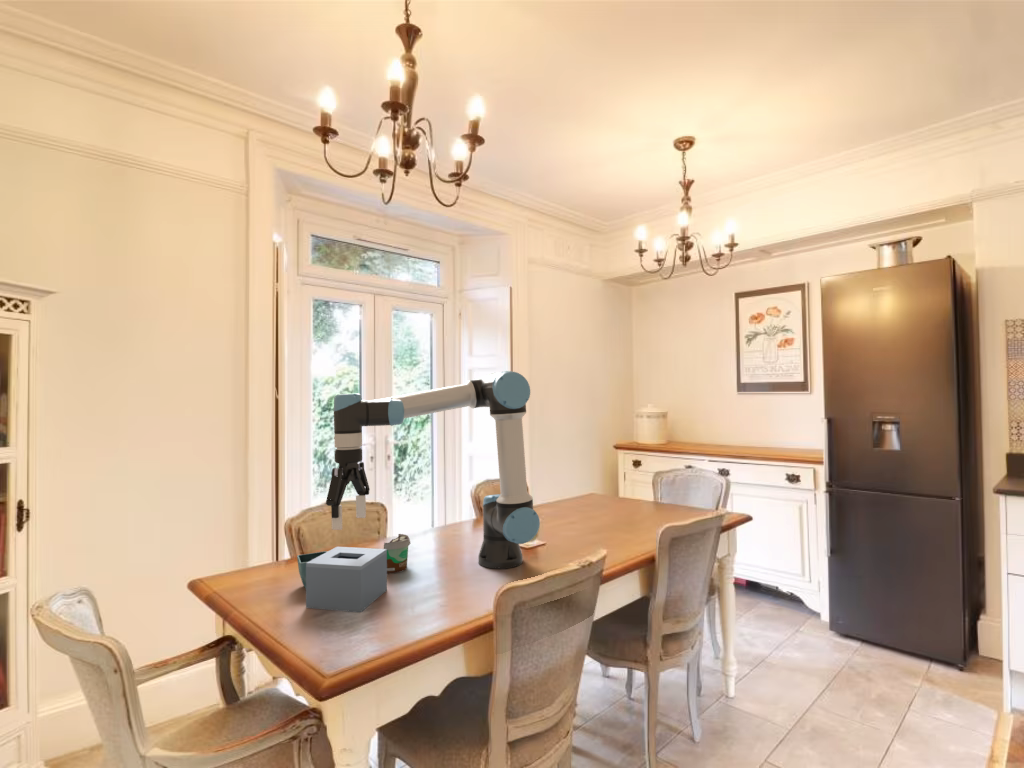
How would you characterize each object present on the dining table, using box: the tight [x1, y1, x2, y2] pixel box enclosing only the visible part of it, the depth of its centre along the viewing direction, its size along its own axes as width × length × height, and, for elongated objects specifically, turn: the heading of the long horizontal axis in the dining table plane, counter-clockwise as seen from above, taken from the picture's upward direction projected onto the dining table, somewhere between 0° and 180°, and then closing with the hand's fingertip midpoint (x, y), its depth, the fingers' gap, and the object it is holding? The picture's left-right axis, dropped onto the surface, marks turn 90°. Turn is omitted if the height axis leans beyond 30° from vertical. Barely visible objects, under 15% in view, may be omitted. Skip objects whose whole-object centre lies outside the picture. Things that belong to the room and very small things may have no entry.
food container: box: [383, 533, 411, 574], centre depth 174 cm, size 12×6×10 cm, turn 168°
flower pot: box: [296, 550, 328, 590], centre depth 158 cm, size 9×9×9 cm
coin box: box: [305, 546, 388, 613], centre depth 149 cm, size 16×16×12 cm
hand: (349, 523), depth 149 cm, fingers open, 13 cm apart
